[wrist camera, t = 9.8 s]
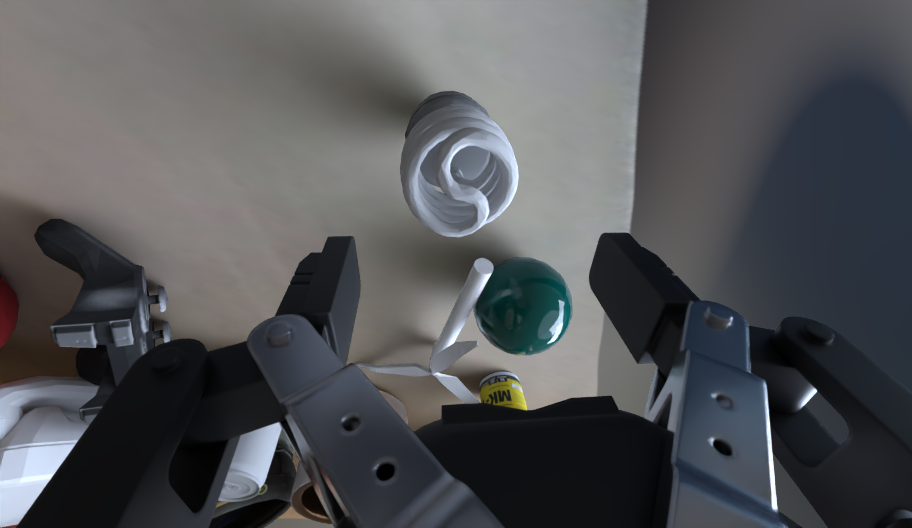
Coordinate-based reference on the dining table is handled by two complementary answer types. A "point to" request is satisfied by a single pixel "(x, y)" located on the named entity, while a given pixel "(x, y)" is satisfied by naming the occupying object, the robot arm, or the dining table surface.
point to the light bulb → (456, 165)
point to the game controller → (102, 310)
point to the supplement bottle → (502, 390)
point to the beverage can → (250, 464)
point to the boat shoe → (262, 495)
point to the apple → (7, 311)
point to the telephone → (36, 436)
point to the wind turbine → (449, 338)
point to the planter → (303, 490)
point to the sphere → (523, 306)
